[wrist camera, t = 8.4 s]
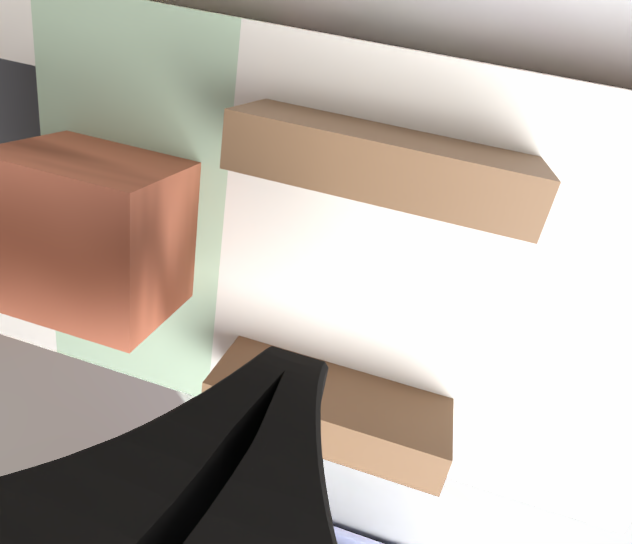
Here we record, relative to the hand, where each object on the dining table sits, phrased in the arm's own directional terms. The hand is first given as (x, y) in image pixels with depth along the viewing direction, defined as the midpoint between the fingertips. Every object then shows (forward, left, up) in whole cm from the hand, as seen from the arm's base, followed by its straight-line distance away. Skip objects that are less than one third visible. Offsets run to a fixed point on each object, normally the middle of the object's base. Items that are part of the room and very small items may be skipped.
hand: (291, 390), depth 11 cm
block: (0, +8, -6) cm, 10 cm away
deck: (0, +5, -9) cm, 10 cm away
